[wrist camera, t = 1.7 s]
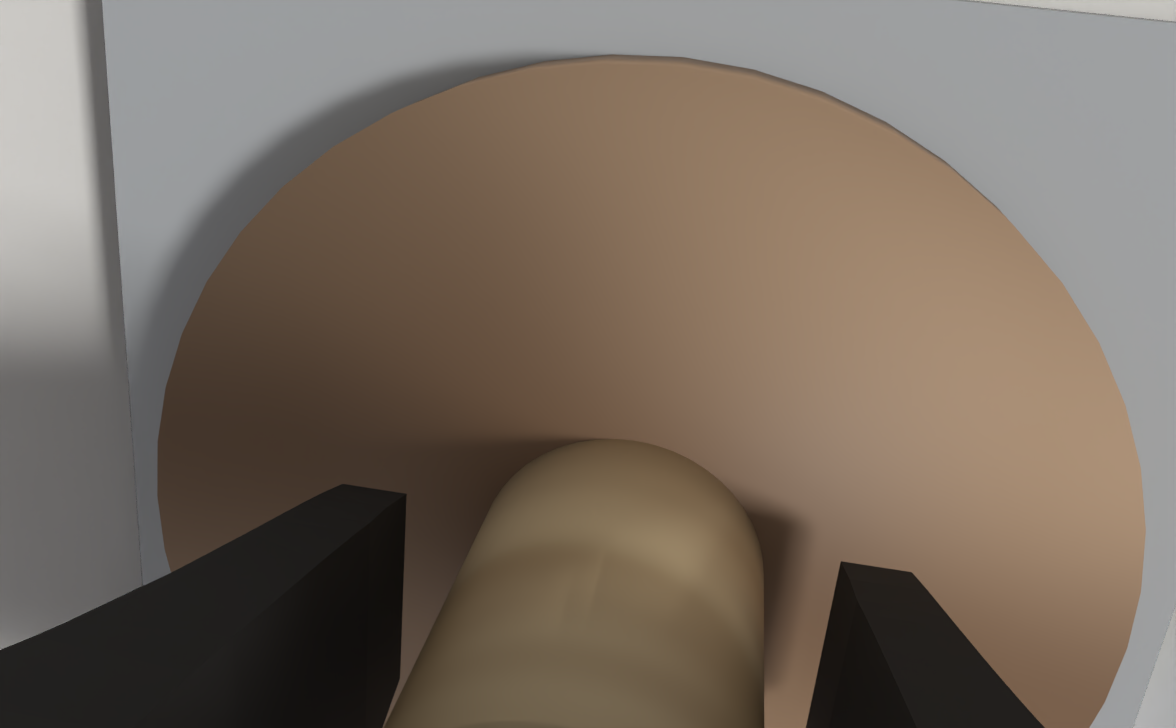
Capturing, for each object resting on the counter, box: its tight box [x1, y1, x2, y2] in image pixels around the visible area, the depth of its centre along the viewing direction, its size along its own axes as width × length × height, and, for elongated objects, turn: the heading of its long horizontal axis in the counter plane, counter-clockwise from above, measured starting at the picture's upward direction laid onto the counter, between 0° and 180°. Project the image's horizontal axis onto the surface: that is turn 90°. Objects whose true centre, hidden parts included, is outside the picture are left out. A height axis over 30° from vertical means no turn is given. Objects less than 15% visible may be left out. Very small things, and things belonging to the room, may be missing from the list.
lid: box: [157, 54, 1146, 728], centre depth 9 cm, size 10×10×5 cm
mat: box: [102, 0, 1176, 728], centre depth 12 cm, size 11×11×1 cm
